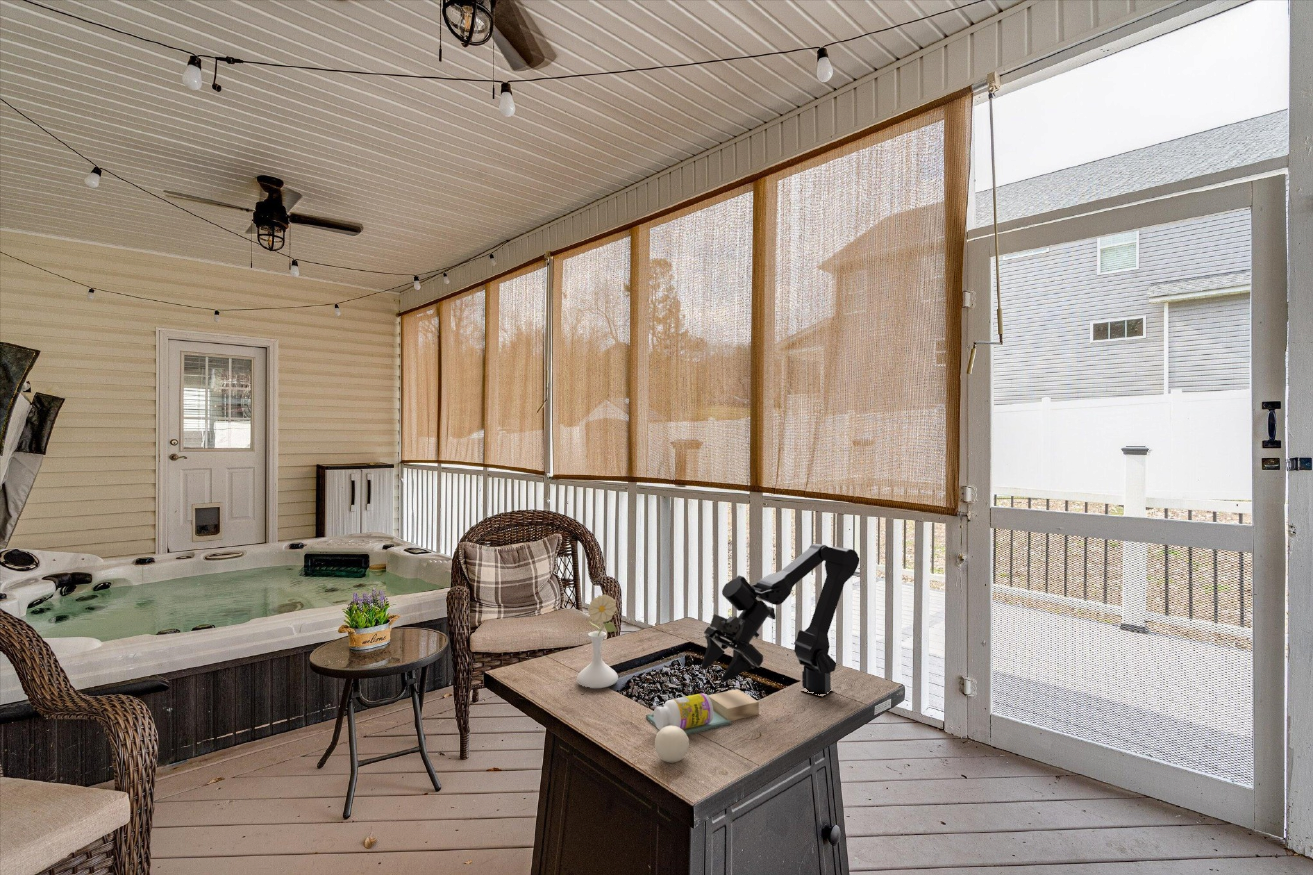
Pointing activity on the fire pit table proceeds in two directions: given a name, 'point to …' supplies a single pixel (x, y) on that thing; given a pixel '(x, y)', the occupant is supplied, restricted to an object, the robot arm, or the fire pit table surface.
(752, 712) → the block
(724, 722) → the tray
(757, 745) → the fire pit table surface
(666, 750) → the cream white ball
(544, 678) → the fire pit table surface
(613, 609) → the flower in vase
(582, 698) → the fire pit table surface
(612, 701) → the fire pit table surface
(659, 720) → the supplement bottle
